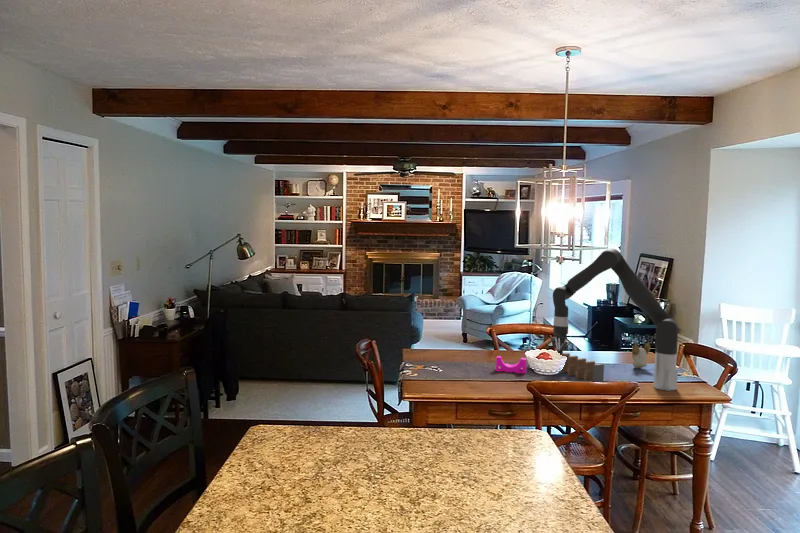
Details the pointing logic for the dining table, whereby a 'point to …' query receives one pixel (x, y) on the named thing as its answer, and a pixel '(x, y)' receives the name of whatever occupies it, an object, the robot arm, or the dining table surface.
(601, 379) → the black domino
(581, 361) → the walnut domino
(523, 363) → the toy block
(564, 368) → the walnut domino
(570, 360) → the walnut domino
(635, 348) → the ceramic sculpture
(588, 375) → the walnut domino
